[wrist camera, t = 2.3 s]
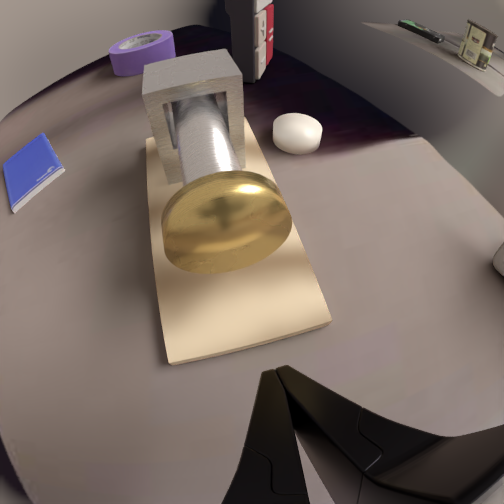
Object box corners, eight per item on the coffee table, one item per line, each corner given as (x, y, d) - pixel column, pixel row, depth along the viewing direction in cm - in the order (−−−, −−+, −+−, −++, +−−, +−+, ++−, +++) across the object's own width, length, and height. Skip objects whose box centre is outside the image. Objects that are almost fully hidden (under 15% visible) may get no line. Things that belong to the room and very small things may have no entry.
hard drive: (62, 164, 28) (43, 131, 32) (9, 208, 25) (1, 164, 29) (67, 174, 29) (47, 139, 34) (16, 216, 26) (6, 172, 31)
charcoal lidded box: (259, 84, 36) (259, -15, 23) (229, 82, 37) (223, -15, 24) (274, 58, 41) (276, -22, 28) (249, 55, 42) (247, -23, 29)
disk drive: (443, 42, 64) (406, 25, 69) (445, 36, 61) (407, 18, 66) (437, 45, 60) (396, 26, 65) (439, 38, 58) (398, 19, 63)
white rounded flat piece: (326, 152, 29) (330, 137, 27) (281, 159, 28) (282, 144, 27) (308, 125, 31) (310, 111, 30) (266, 130, 31) (266, 116, 29)
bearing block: (245, 167, 26) (242, 74, 18) (168, 185, 25) (141, 94, 17) (231, 130, 29) (225, 48, 21) (164, 145, 28) (144, 65, 20)
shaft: (286, 257, 18) (299, 183, 12) (180, 283, 17) (146, 217, 12) (226, 106, 27) (222, 48, 21) (160, 120, 26) (147, 63, 20)
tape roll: (180, 47, 46) (176, 26, 42) (170, 69, 41) (165, 44, 36) (124, 58, 46) (119, 38, 42) (106, 82, 40) (99, 59, 36)
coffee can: (482, 65, 56) (493, 32, 44) (488, 75, 52) (501, 39, 39) (455, 51, 59) (465, 17, 46) (459, 59, 54) (470, 21, 42)
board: (328, 324, 20) (332, 320, 19) (172, 365, 18) (168, 363, 18) (245, 124, 31) (245, 117, 30) (148, 145, 30) (146, 139, 29)
